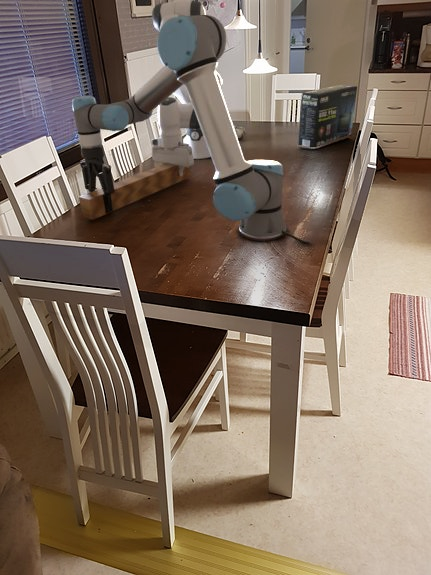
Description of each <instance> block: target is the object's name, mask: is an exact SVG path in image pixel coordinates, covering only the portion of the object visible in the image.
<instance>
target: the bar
mask: <svg viewBox="0 0 431 575" xmlns="http://www.w3.org/2000/svg"><path fill="white" fill-rule="evenodd" d="M179 170H180V168H179V166H177V165H172V164H166V163H165V164H163V165H162V164H161V165H158V166H156V167H153V168H150V169H147V170H145V171H141V172H139V173H136V174H135V175H132V176H130V177H127V178H124V179H122V180H118V181H117V182H113V185H114V190H115V192H114V193H112V194H111V198H112V209H113V211H111V212H109V213H106V211H105V205H104V200H103V195H104V192H103V189H102V187H100V188H98V189H97V190H95V191H93V192H87V193H85V194H82V195H80V196H78V201H79V206H80V211H81V215H82V217H83V218H86V219H89V220H92V221H94V220H96V219H99V218H100V217H103V216H105V215H108V214H110V213H113V212H114V211H117V210H119V209H121V208H124V207H126V206H128V205H129V204H130V205H131V204H132V203H134V202H137V201H140V200H141V199H143V198H146V197H149V196H150V195H153V194H155V193H157V192H159V191H162V190H164V189H166V188H168V187H170V186H171V187H172V186H173V185H175V184H178V183H180V182H183V181H185V180H187V179H189V178H191V167H185V168H184V170H183V176H178V171H179Z"/></svg>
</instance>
